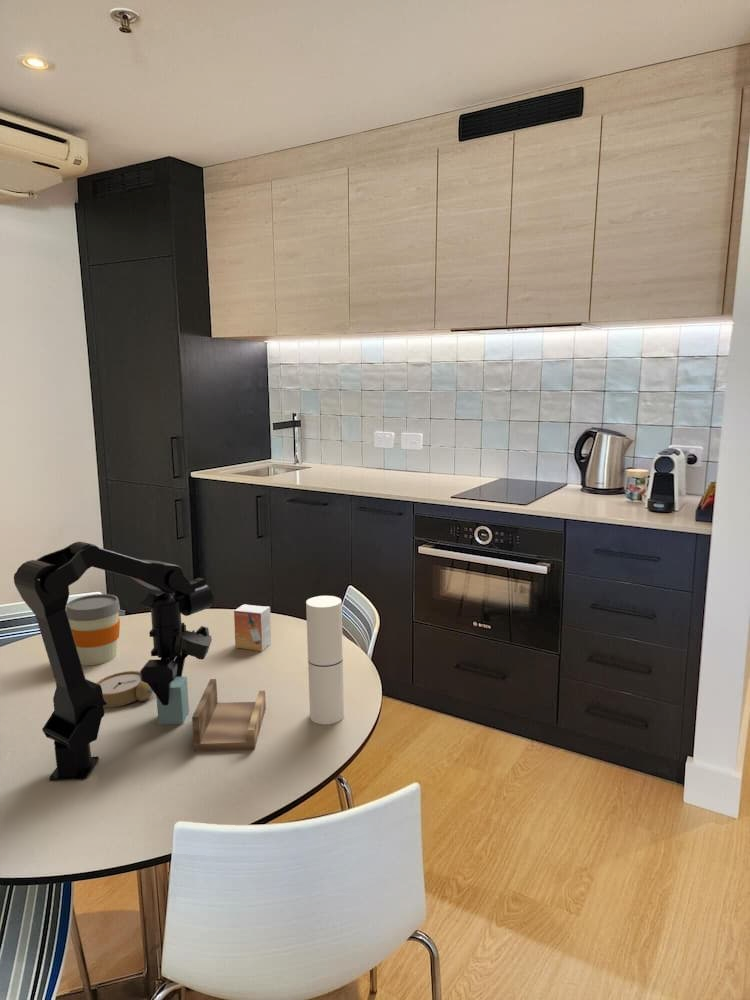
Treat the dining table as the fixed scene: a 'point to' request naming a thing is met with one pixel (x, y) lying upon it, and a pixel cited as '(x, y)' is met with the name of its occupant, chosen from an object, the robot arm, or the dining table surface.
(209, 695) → the cleat board
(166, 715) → the teal block
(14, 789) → the dining table surface
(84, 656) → the reusable coffee cup
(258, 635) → the small box
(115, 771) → the dining table surface
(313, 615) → the cylindrical container
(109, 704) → the alarm clock
